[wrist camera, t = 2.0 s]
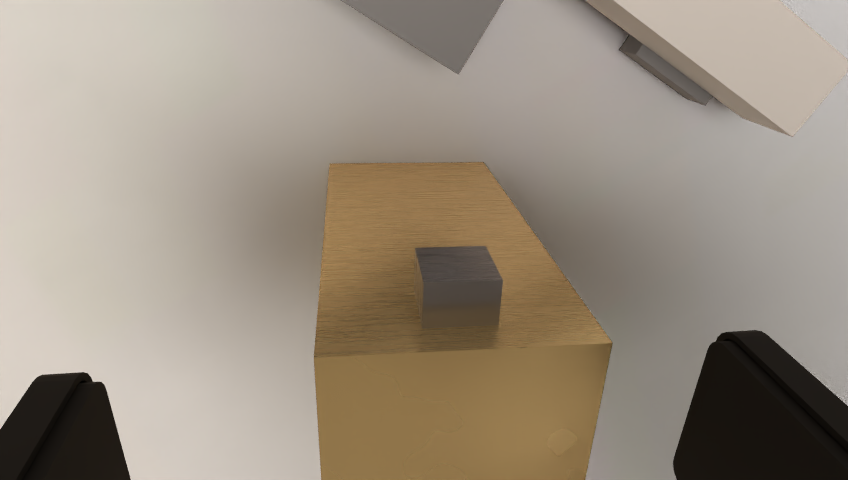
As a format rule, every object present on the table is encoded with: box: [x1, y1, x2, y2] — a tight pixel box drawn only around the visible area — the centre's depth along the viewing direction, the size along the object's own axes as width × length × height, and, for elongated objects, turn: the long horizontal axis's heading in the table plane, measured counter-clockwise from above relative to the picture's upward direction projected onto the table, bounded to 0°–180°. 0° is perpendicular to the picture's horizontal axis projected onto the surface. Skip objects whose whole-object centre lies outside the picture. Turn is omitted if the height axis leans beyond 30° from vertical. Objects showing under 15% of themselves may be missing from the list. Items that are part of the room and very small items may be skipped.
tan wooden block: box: [314, 162, 612, 480], centre depth 13 cm, size 4×6×9 cm
